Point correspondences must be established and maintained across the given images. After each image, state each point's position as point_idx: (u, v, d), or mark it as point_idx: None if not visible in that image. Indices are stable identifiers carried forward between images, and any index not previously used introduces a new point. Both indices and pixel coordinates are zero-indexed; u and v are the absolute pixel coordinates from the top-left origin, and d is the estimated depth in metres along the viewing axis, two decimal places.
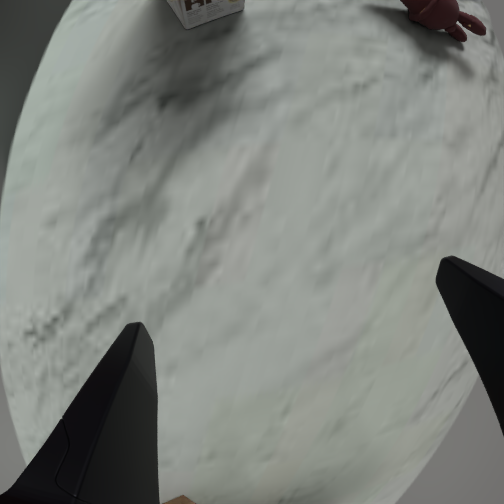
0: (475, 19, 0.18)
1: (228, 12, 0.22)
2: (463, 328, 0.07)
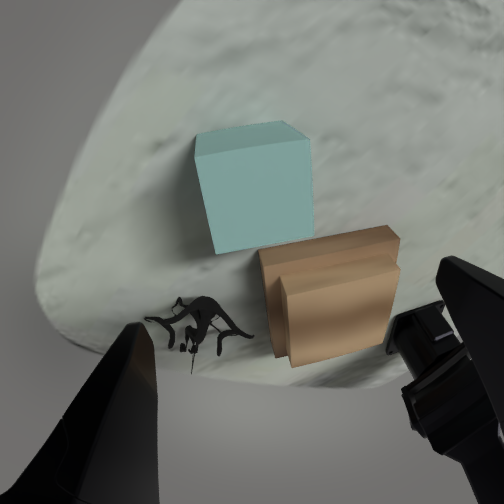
0: None
1: None
2: (463, 328, 0.07)
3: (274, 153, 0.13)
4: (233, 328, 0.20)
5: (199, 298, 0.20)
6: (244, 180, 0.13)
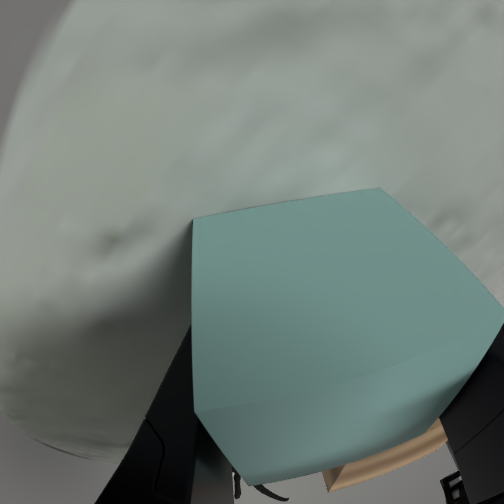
0: None
1: None
2: None
3: (431, 364, 0.04)
4: (260, 490, 0.11)
5: None
6: (336, 423, 0.04)
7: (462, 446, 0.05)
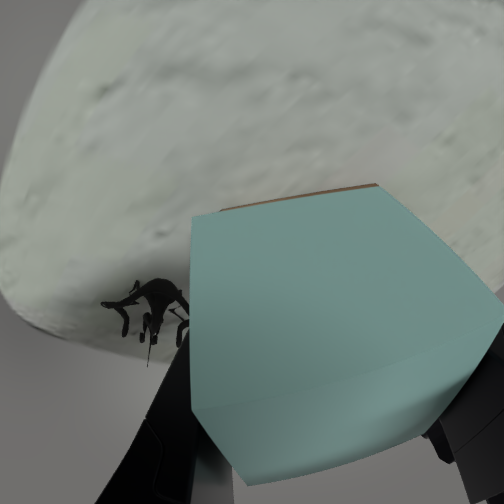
0: None
1: None
2: None
3: (431, 364, 0.04)
4: None
5: (154, 280, 0.18)
6: (336, 423, 0.04)
7: (462, 446, 0.05)
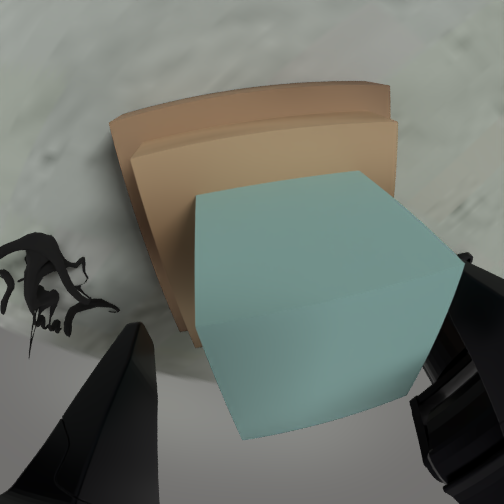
0: None
1: None
2: (463, 328, 0.07)
3: (393, 302, 0.05)
4: (65, 284, 0.10)
5: (32, 234, 0.10)
6: (316, 357, 0.05)
7: None
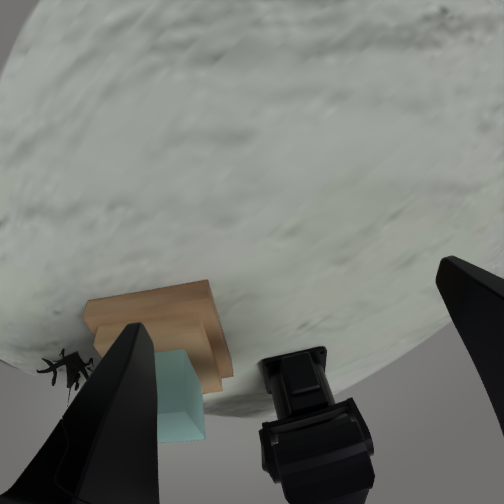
0: None
1: None
2: (463, 328, 0.07)
3: (162, 416, 0.16)
4: None
5: (68, 356, 0.23)
6: None
7: None
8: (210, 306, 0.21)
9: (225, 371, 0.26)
